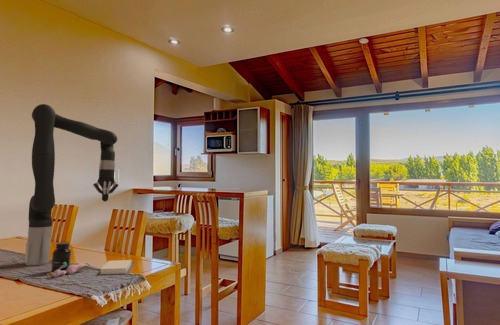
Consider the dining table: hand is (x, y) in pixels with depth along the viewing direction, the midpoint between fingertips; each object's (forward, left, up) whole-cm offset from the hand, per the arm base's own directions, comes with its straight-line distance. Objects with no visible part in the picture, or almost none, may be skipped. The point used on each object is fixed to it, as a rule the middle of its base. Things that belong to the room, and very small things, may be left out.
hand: (104, 201), depth 168 cm
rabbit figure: (-22, -28, -29) cm, 46 cm away
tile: (0, -27, -27) cm, 38 cm away
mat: (-3, -31, -29) cm, 43 cm away
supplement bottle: (-23, -20, -29) cm, 42 cm away
